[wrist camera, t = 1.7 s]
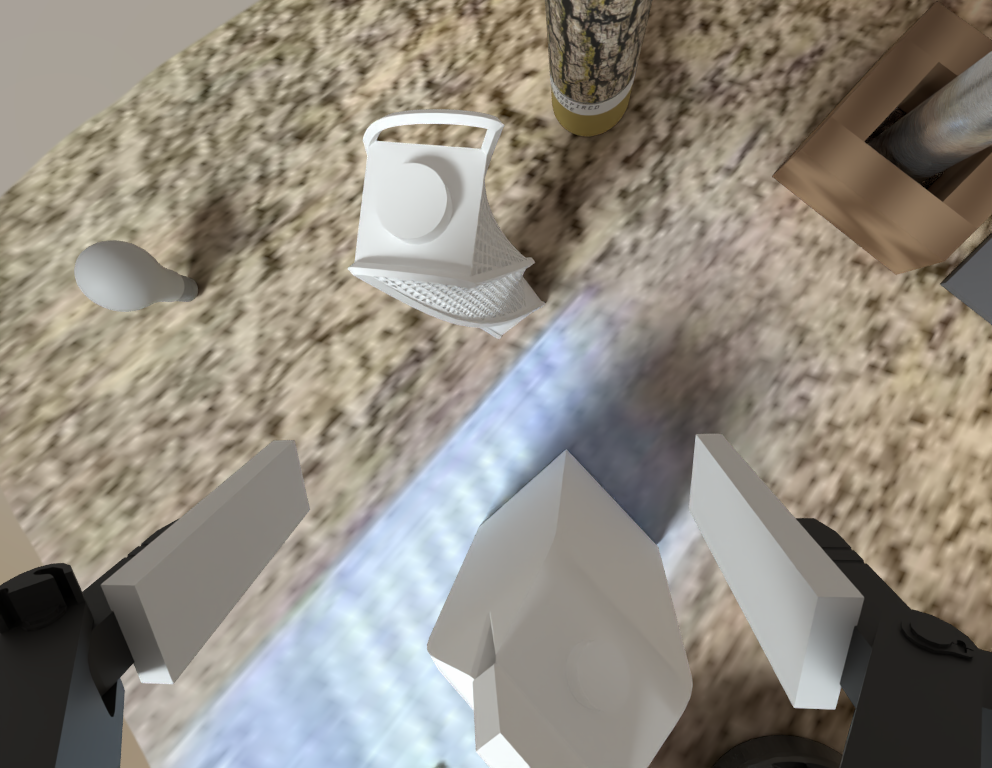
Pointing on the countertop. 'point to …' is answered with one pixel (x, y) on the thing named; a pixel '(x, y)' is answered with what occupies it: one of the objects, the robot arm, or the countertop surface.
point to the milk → (564, 631)
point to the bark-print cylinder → (593, 60)
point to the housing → (875, 180)
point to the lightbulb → (128, 277)
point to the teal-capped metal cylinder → (943, 126)
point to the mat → (974, 280)
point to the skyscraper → (439, 228)
